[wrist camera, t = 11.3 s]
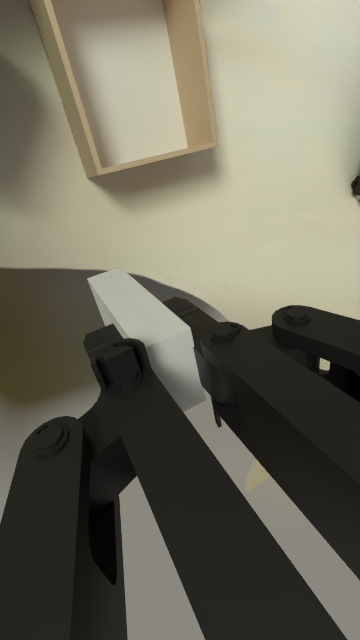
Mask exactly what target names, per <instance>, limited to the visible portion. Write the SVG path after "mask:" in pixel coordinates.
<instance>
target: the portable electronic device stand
mask: <svg viewBox="0 0 360 640" xmlns="http://www.w3.org/2000/svg"><path fill="white" fill-rule="evenodd" d="M352 184H353V185H352V187H354V188H355V189H354V194H355V195H356V199H357V200H359V201H360V176H357V177H356V179H355V180H354V181H353V182H352Z"/></svg>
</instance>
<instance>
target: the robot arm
mask: <svg viewBox="0 0 360 640" xmlns="http://www.w3.org/2000/svg"><path fill="white" fill-rule="evenodd" d="M87 279H88V282H89V285H90V287H91V290H92V292H93V295H94V298H95V300H96V303H97V306H98V308H99V311H100V313H101V316H102V319H103V321H104V324H105V327H103V328H101V329H98V330H96V331H93V332H91V333H89V334H86V337H85V340H84V343H83V344H84V346H85V349H86V351H87V354H88V356H89V359H90V361H91V367H92V369H93V371H94V374H95V376H96V378H97V381H98V383H99V385H100V387H101V392H100V396H99V398H98V400H97V402H96V403H95V404H94V406H93V407H92V408H91V409H90V410H89V411H88V412H87V413H85V414H84V415H83V416H81V417H80V418H79V419H78V420H77V419H76V418H74V417H69V416H63V417H57V418H54V419H52V420H50V421H48V422H45V423H44V424H42V425H41V426H40V427H38V428H37V429H36V430H34V431H33V432H32V433H31V435H30V436H29V437H28V438H27V439H26V440H25V442H24V444H23V446H22V448H21V450H20V453H19V457H18V461H17V464H16V468H15V472H14V475H13V479H12V483H11V487H10V490H9V494H8V497H7V501H6V505H5V509H4V513H3V516H2V520H1V523H0V640H127V623H126V605H125V588H124V570H123V554H122V537H121V536H122V535H121V519H120V501H119V494H120V492H122V491H123V490H124V488H125V487H126V486H127V485H128V484H129V483H130V482H131V481H132V480H133V479H134V478H135V477H136V476H138V478H139V481H140V483H141V486H142V488H143V490H144V493H145V495H146V497H147V500H148V503H149V505H150V507H151V510H152V512H153V515H154V517H155V519H156V522H157V524H158V527H159V529H160V532H161V534H162V536H163V539H164V541H165V544H166V546H167V548H168V551H169V553H170V556H171V558H172V560H173V563H174V565H175V568H176V570H177V573H178V575H179V577H180V580H181V582H182V584H183V587H184V589H185V592H186V594H187V597H188V599H189V601H190V604H191V606H192V609H193V611H194V613H195V616H196V618H197V620H198V623H199V626H200V628H201V630H202V633H203V635H204V638H205V640H347V639H346V637H345V636H344V634H343V633H342V632H341V630H340V629H339V628H338V626H337V625H336V623H335V622H334V621H333V619H332V618H331V616H330V615H329V614H328V612H327V611H326V609H325V608H324V607H323V605H322V604H321V603H320V601H319V600H318V598H317V597H316V596H315V594H314V593H313V592H312V590H311V589H310V587H309V586H308V585H307V583H306V582H305V580H304V579H303V578H302V576H301V575H300V574H299V572H298V571H297V569H296V568H295V567H294V565H293V564H292V562H291V561H290V560H289V558H288V557H287V555H286V554H285V553H284V551H283V550H282V549H281V547H280V546H279V545H278V543H277V542H276V540H275V539H274V538H273V536H272V535H271V533H270V532H269V531H268V529H267V528H266V526H265V525H264V524H263V522H262V521H261V519H260V518H259V517H258V515H257V514H256V512H255V511H254V510H253V509H252V507H251V506H250V504H249V503H248V501H247V500H246V499H245V497H244V496H243V494H242V493H241V492H240V490H239V489H238V488H237V486H236V485H235V483H234V482H233V481H232V479H231V478H230V476H229V475H228V474H227V472H226V471H225V470H224V468H223V467H222V465H221V464H220V463H219V461H218V460H217V459H216V457H215V456H214V455H213V453H212V452H211V450H210V449H209V447H208V446H207V445H206V443H205V442H204V440H203V439H202V438H201V437H200V435H199V434H198V432H197V431H196V429H195V428H194V427H193V425H192V424H191V422H190V421H189V420H188V418H187V417H186V416H185V414H184V413H183V412H184V411H186V410H188V409H190V408H191V407H193V406H195V405H197V404H199V403H201V402H202V401H204V400H205V395H204V391H203V388H204V389H205V390H206V391H207V392H208V393H209V394H210V395H211V400H212V405H213V410H214V415H215V421H216V423H217V426H218V427H221V426H222V425H221V419H220V417H221V418H222V419H223V420H224V421H225V423H226V424H227V425H228V426H229V427H230V429H231V430H232V431H233V432H234V433H235V434H236V436H237V437H238V438H239V439H240V440H241V441H242V442H243V444H244V445H245V446H246V447H247V448H248V450H249V451H250V452H251V453H252V454H253V455H254V457H255V458H256V459H257V460H258V461H259V463H260V464H261V465H262V466H263V467H264V468H265V470H266V471H267V472H268V473H269V474H270V475H271V477H272V478H273V479H274V480H275V481H276V482H277V484H278V485H279V486H280V487H281V488H282V489H283V491H284V492H285V493H286V494H287V495H288V497H289V498H290V499H291V500H292V501H293V502H294V503H295V505H296V506H297V507H298V508H299V509H300V511H302V513H303V514H304V515H305V516H306V518H307V519H308V520H309V521H310V522H311V523H312V525H313V526H314V527H315V528H316V529H317V531H318V532H319V533H320V534H321V535H322V536H323V537H324V539H325V540H326V541H327V542H328V543H329V545H330V546H331V547H332V548H333V549H334V550H335V552H336V553H337V554H338V555H339V556H340V558H341V559H342V560H343V561H344V562H345V563H346V565H347V566H348V567H349V568H350V569H351V570H352V571H353V573H354V574H355V575H356V576H357V577H358V579H359V580H360V320H356V319H352V318H349V317H345V316H341V315H338V314H334V313H330V312H327V311H323V310H319V309H315V308H312V307H307V306H301V305H295V306H294V305H291V306H286V307H283V308H280V309H279V310H277V311H275V312H274V314H273V315H272V325H271V326H267V327H262V328H258V329H253V330H249V329H247V328H245V327H244V326H242V325H240V324H238V323H234V322H217V321H216V320H214V319H213V318H211V317H210V316H209V315H207V314H206V313H204V312H203V311H202V310H200V309H199V308H198V307H196V306H194V305H193V304H192V303H190V302H189V301H188V300H186V299H182V298H177V297H174V298H172V299H169V300H167V301H164V302H162V303H161V302H160V301H159V300H158V299H156V298H155V297H154V296H153V295H152V294H150V292H148V291H147V290H146V289H145V288H144V287H143V286H141V285H140V284H139V283H138V282H137V281H136V280H134V279H133V278H132V277H131V276H130V275H128V274H127V273H126V272H125V271H124V270H123V269H122V268H120V267H119V268H116V269H113V270H110V271H107V272H105V273H102V274H99V275H96V276H93V277H90V278H87ZM320 358H322V359H325V360H327V361H330V370H327V371H325V370H321V369H319V365H320Z"/></svg>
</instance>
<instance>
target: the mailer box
mask: <svg viewBox="0 0 360 640" xmlns="http://www.w3.org/2000/svg"><path fill="white" fill-rule="evenodd" d="M29 3H30V6H31V9H32V12H33V15H34V18H35V21H36V24H37V27H38V30H39V33H40V36H41V39H42V42H43V45H44V48H45V51H46V54H47V57H48V60H49V63H50V66H51V69H52V72H53V75H54V79H55V82H56V85H57V88H58V91H59V94H60V97H61V100H62V103H63V106H64V109H65V112H66V115H67V118H68V121H69V124H70V127H71V130H72V133H73V136H74V139H75V142H76V145H77V148H78V151H79V154H80V157H81V160H82V163H83V166H84V169H85V172H86V175H87V178H91V177H95V176H99V175H103V174H107V173H111V172H115V171H119V170H123V169H127V168H131V167H136V166H140V165H144V164H148V163H152V162H156V161H160V160H164V159H168V158H172V157H176V156H180V155H185V154H189V153H193V152H197V151H201V150H205V149H209V148H213V147H217V146H218V139H217V132H216V124H215V116H214V109H213V101H212V93H211V86H210V78H209V71H208V63H207V55H206V48H205V40H204V33H203V25H202V17H201V10H200V2H199V0H29Z"/></svg>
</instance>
